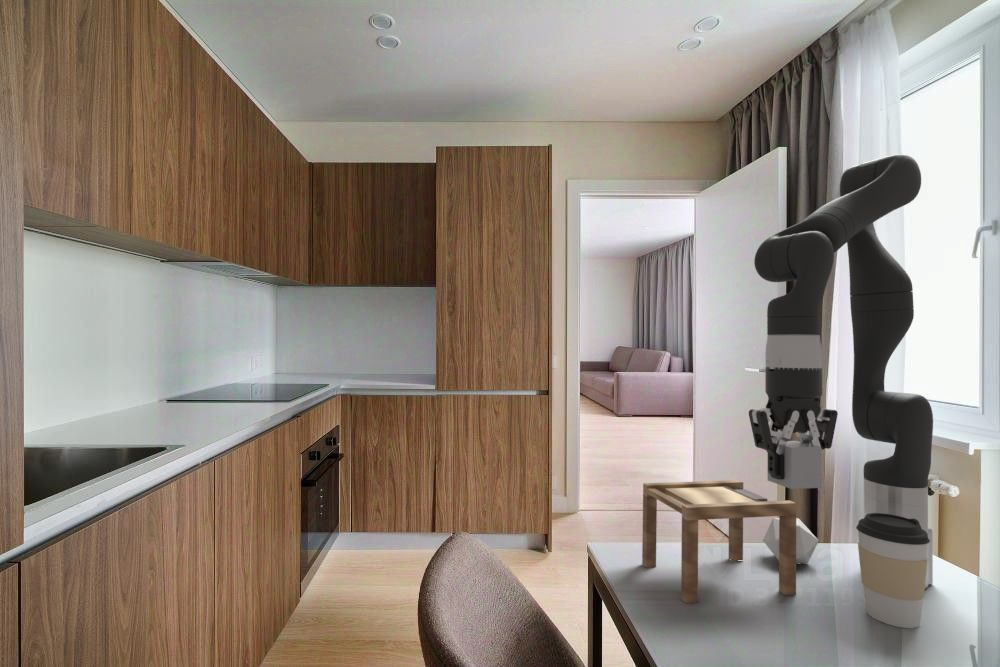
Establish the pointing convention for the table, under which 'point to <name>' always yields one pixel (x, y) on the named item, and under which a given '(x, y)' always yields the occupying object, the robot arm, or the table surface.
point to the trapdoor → (712, 495)
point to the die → (803, 540)
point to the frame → (735, 515)
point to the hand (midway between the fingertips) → (793, 477)
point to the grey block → (801, 466)
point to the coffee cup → (893, 568)
